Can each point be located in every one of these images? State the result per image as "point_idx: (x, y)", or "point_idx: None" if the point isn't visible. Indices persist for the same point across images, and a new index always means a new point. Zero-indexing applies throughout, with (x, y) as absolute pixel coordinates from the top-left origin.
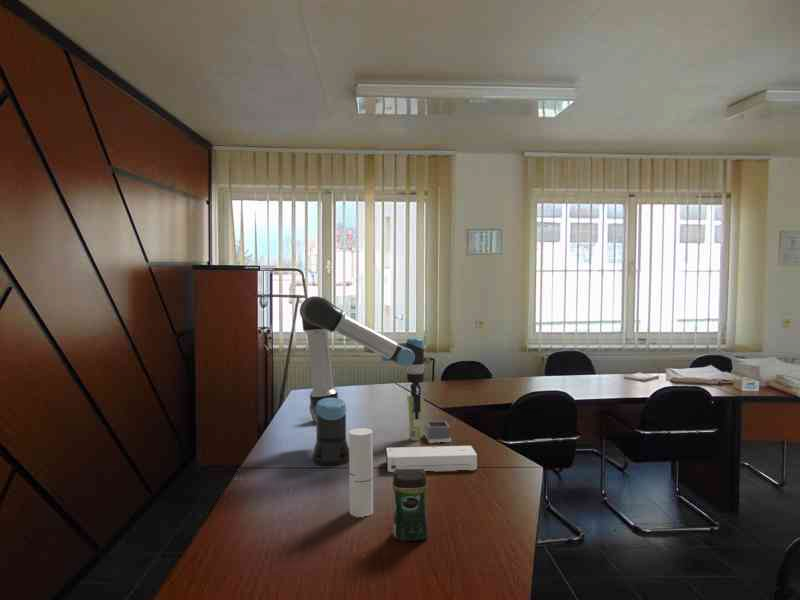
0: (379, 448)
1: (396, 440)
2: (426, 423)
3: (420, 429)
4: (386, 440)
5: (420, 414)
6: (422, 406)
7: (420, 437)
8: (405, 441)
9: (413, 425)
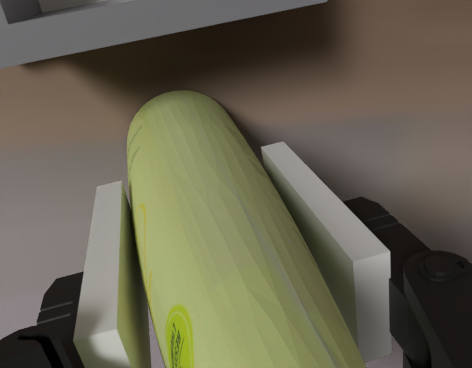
0: None
1: None
2: (100, 46)
3: (218, 117)
4: None
5: (278, 203)
6: (287, 264)
7: (194, 94)
8: None
9: None
